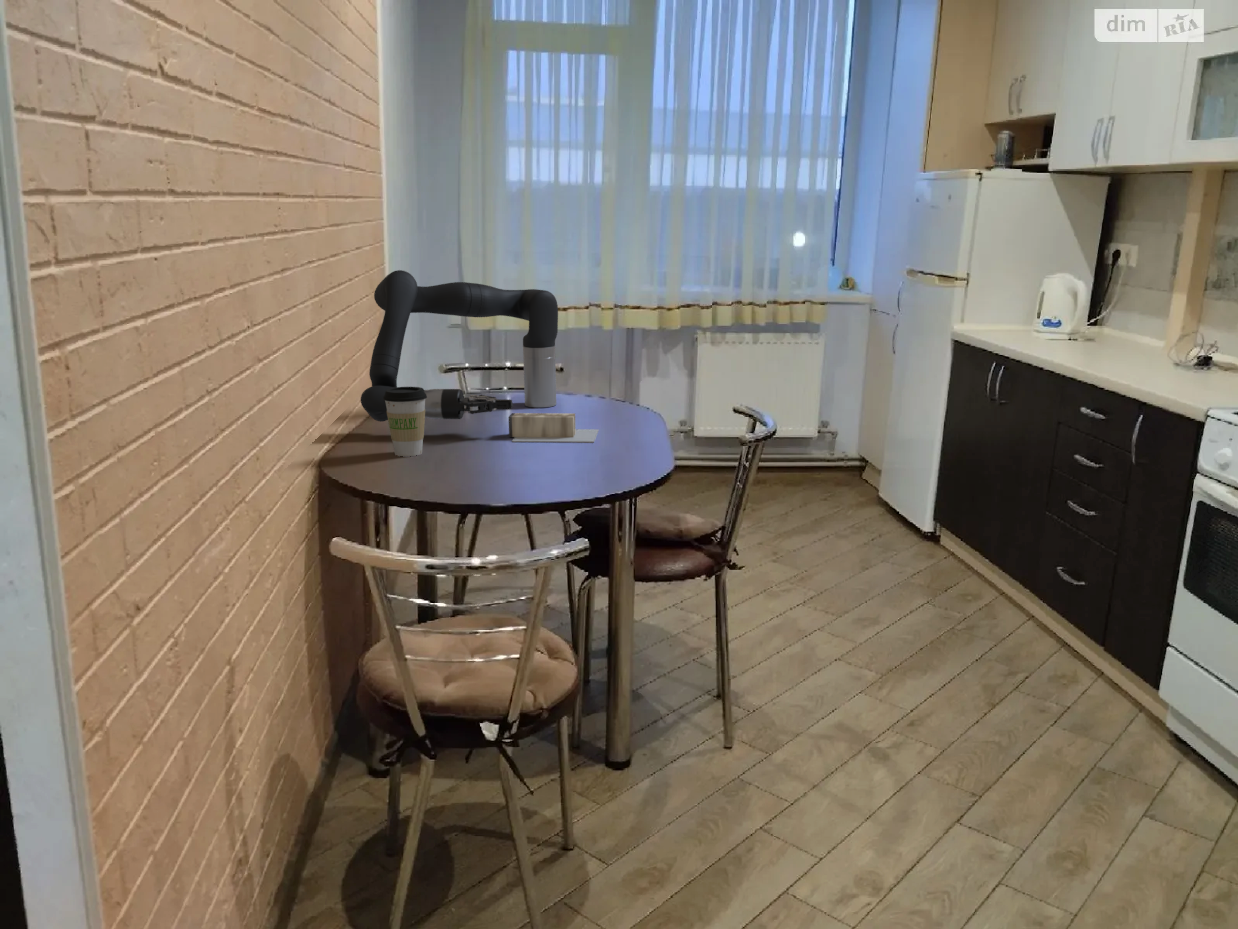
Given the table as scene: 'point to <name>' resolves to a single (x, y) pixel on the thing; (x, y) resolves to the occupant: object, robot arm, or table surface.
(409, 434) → the coffee cup
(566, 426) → the birch block
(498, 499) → the table surface
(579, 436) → the grey mat
